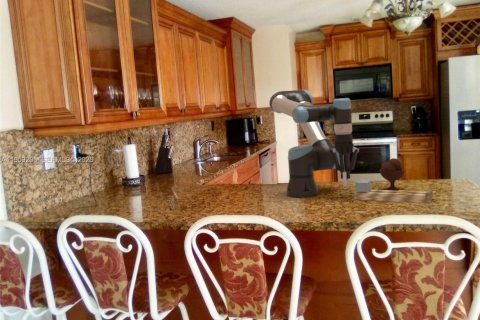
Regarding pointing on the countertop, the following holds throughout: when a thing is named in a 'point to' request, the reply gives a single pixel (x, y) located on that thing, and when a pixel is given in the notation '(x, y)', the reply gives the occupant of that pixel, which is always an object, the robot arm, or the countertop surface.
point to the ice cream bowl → (392, 172)
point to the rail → (396, 196)
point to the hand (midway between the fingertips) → (345, 186)
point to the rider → (363, 186)
